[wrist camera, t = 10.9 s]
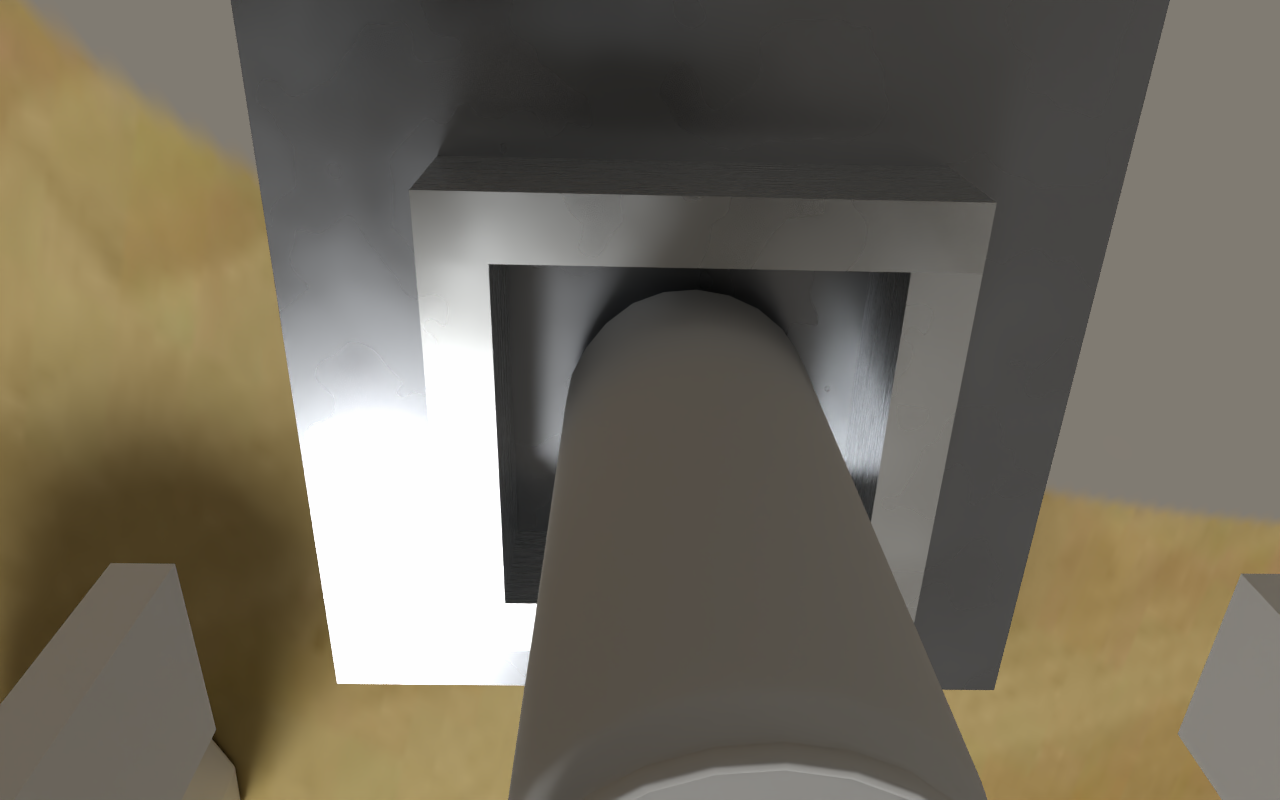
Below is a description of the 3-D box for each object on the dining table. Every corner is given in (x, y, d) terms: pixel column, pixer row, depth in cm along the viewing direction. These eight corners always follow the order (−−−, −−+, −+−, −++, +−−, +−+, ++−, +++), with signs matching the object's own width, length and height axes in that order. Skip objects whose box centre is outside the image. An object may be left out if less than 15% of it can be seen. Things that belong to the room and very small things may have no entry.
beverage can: (838, 437, 20) (1091, 1020, 9) (634, 527, 21) (639, 1155, 10) (744, 237, 18) (919, 665, 7) (524, 344, 19) (381, 870, 8)
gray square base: (254, -52, 17) (156, -46, 13) (1133, -28, 17) (1264, -16, 14) (353, 641, 24) (305, 765, 21) (973, 648, 25) (1032, 771, 21)
